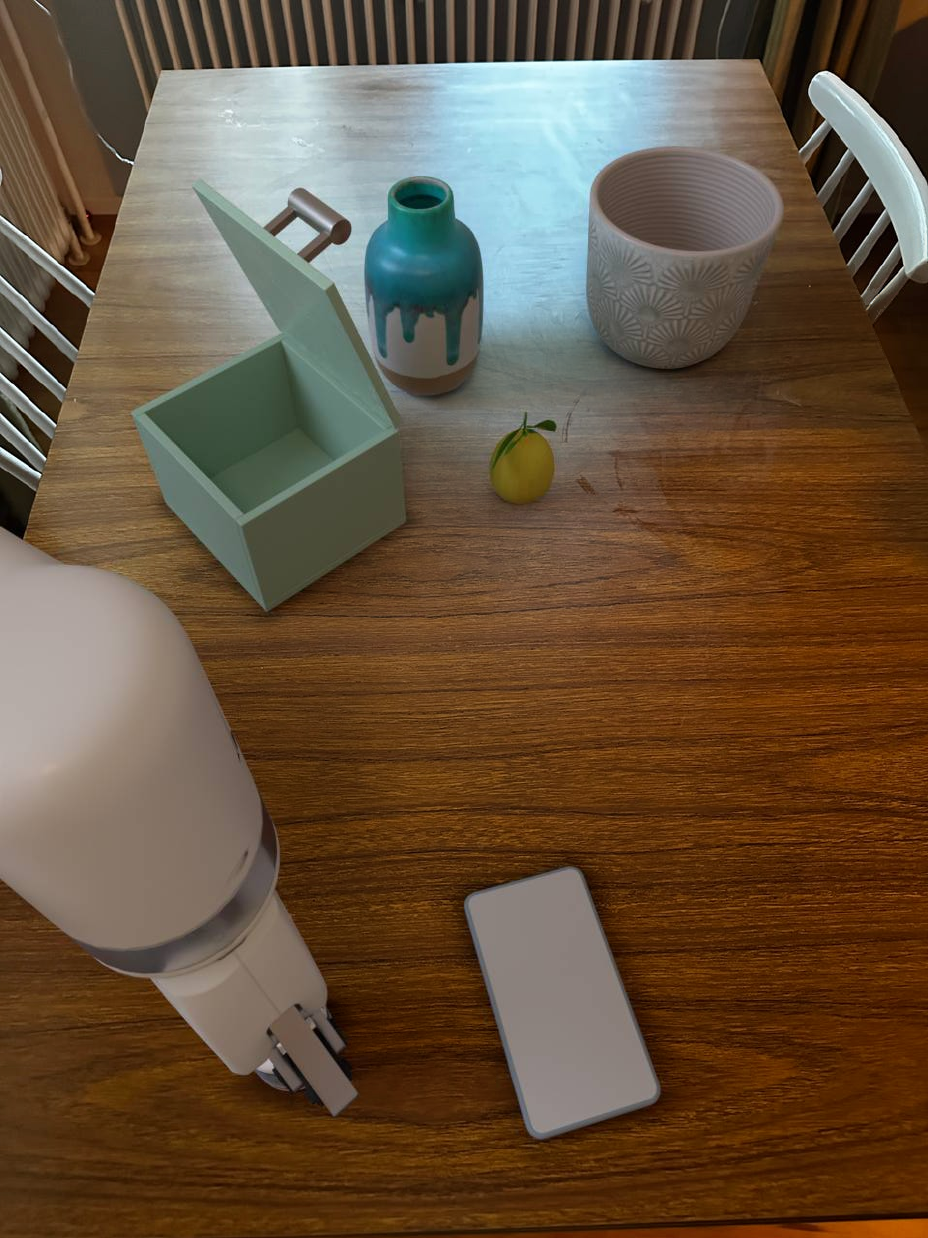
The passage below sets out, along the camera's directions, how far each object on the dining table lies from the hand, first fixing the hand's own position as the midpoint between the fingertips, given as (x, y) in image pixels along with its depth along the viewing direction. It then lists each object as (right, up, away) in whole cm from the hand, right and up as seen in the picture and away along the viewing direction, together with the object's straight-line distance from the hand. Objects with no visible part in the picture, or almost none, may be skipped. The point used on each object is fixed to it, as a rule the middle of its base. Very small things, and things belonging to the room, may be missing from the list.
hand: (259, 983), depth 47 cm
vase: (+6, +41, +47) cm, 63 cm away
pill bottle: (0, -8, +12) cm, 15 cm away
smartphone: (+16, -6, +14) cm, 22 cm away
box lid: (-2, +40, +23) cm, 46 cm away
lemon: (+15, +28, +38) cm, 49 cm away
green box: (-6, +27, +37) cm, 46 cm away
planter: (+30, +46, +50) cm, 74 cm away
